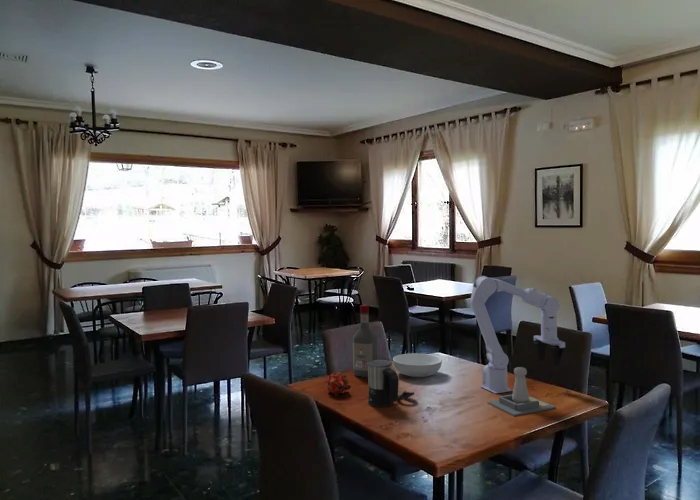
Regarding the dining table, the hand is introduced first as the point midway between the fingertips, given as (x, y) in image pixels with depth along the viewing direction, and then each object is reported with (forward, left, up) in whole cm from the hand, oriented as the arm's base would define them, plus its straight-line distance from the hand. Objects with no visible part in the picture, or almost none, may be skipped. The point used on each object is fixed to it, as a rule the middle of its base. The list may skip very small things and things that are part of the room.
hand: (548, 362), depth 201 cm
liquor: (-50, -55, -11) cm, 75 cm away
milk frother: (-14, -61, -11) cm, 63 cm away
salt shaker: (+10, -22, -10) cm, 27 cm away
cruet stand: (+10, -22, -10) cm, 26 cm away
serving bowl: (-40, -35, -11) cm, 54 cm away
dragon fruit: (-31, -75, -11) cm, 82 cm away
